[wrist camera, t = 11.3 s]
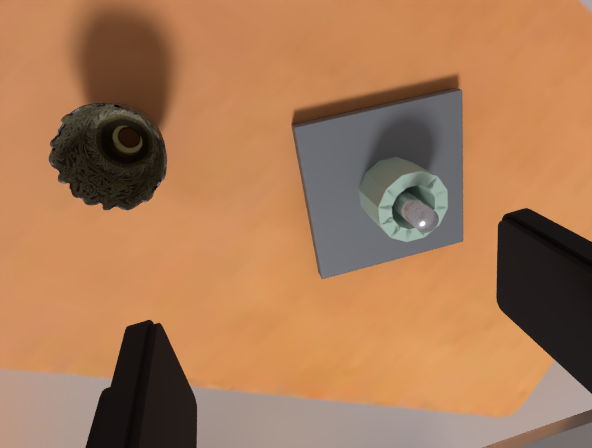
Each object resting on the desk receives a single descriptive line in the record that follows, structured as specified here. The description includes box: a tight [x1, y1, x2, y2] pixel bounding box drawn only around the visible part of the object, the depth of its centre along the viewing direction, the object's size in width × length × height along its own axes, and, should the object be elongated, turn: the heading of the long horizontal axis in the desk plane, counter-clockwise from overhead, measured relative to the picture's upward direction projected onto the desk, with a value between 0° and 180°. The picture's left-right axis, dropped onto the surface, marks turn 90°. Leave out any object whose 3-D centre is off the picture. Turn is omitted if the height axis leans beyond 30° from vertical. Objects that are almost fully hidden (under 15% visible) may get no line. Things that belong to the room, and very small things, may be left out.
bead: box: [359, 157, 448, 242], centre depth 38 cm, size 6×6×5 cm
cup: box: [49, 103, 167, 210], centre depth 31 cm, size 8×7×8 cm
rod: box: [392, 190, 439, 233], centre depth 37 cm, size 2×2×8 cm
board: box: [292, 88, 463, 279], centre depth 41 cm, size 16×16×2 cm
